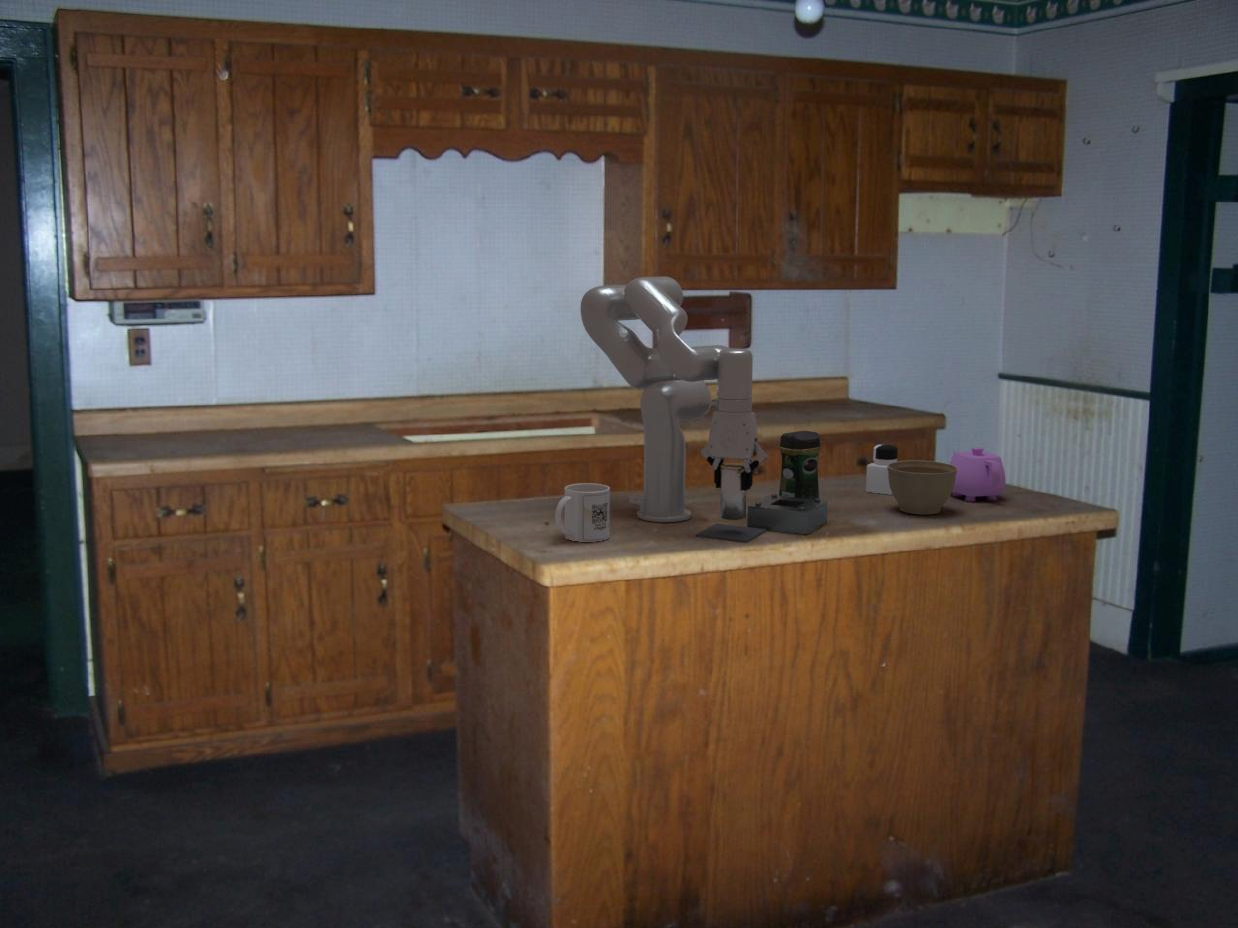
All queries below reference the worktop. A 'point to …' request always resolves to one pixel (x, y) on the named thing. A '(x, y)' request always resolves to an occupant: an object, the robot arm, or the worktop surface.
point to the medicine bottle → (880, 469)
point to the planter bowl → (921, 485)
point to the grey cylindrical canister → (732, 491)
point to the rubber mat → (731, 532)
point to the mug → (585, 512)
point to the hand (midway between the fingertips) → (733, 487)
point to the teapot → (978, 474)
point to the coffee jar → (799, 464)
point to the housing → (787, 514)
